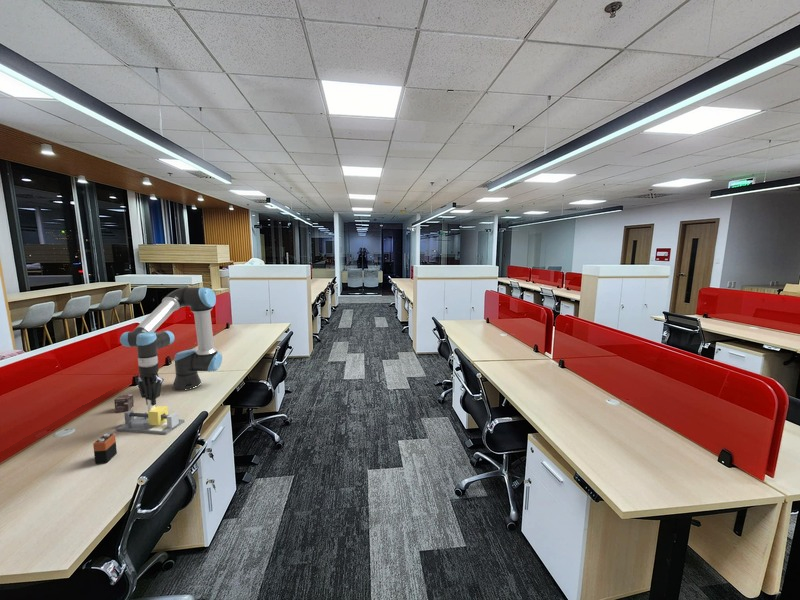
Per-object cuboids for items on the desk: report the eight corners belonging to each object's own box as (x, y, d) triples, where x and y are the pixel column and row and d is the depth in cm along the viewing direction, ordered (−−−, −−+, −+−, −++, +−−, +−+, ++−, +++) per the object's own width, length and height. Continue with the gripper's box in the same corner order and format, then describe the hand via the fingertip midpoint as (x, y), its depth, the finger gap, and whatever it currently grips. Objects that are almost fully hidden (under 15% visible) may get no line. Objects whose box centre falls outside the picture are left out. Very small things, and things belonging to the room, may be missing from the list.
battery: (117, 453, 139) (115, 431, 138) (107, 463, 133) (105, 440, 131) (105, 454, 138) (103, 432, 137) (94, 464, 132) (92, 441, 130)
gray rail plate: (138, 418, 168) (137, 406, 167) (184, 421, 166) (183, 409, 166) (116, 430, 156) (115, 417, 156) (165, 434, 155) (165, 421, 154)
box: (114, 412, 174) (113, 399, 173) (121, 407, 180) (119, 395, 179) (128, 411, 175) (127, 398, 174) (134, 406, 181) (133, 394, 180)
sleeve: (159, 418, 164) (158, 405, 163) (168, 419, 164) (167, 406, 163) (149, 424, 158) (147, 411, 157) (158, 425, 158) (157, 412, 157)
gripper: (128, 366, 154) (132, 413, 157) (154, 368, 153) (157, 415, 156) (142, 361, 161) (146, 406, 165) (167, 363, 160) (170, 408, 163)
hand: (151, 411), depth 160 cm, fingers closed
